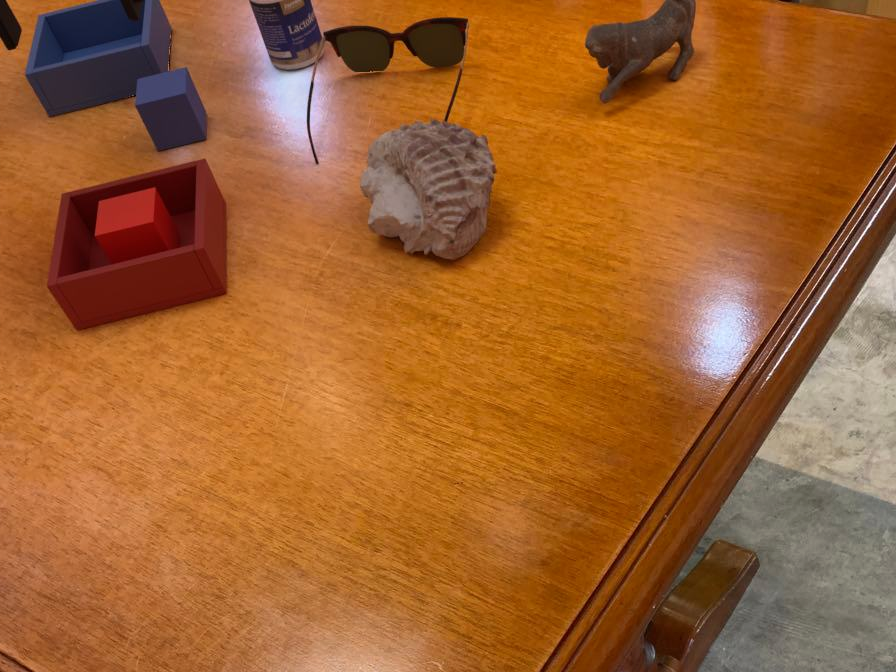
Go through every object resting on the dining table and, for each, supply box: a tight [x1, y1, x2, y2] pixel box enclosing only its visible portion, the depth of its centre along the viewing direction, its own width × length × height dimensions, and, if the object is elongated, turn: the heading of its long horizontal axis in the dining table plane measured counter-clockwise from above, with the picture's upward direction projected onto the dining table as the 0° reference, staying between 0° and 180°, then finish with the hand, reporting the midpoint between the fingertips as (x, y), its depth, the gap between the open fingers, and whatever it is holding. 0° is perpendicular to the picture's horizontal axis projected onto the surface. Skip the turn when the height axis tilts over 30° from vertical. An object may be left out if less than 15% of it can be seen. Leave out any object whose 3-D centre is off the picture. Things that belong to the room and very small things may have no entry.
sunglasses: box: [306, 16, 470, 165], centre depth 94 cm, size 14×15×5 cm
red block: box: [95, 187, 180, 264], centre depth 85 cm, size 5×5×5 cm
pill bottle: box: [248, 0, 326, 71], centre depth 101 cm, size 6×6×10 cm
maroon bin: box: [46, 158, 228, 331], centre depth 85 cm, size 13×13×5 cm
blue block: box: [134, 66, 208, 152], centre depth 97 cm, size 5×5×5 cm
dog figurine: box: [584, 0, 697, 104], centre depth 90 cm, size 12×6×7 cm, turn 124°
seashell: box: [359, 117, 498, 261], centre depth 83 cm, size 14×9×10 cm
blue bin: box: [24, 0, 172, 118], centre depth 107 cm, size 13×13×5 cm
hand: (76, 26), depth 79 cm, fingers open, 9 cm apart
